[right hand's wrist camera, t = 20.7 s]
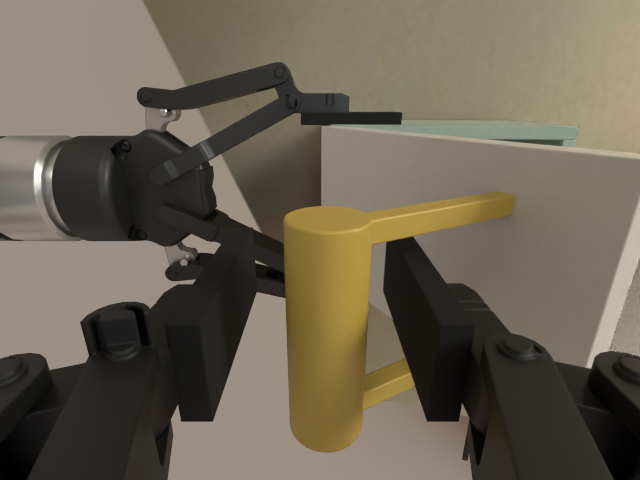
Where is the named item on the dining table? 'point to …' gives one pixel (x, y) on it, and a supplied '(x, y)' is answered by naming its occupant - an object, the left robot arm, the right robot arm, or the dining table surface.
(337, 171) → the lid
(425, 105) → the dining table surface
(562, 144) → the chest
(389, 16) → the dining table surface
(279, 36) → the dining table surface
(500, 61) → the dining table surface
